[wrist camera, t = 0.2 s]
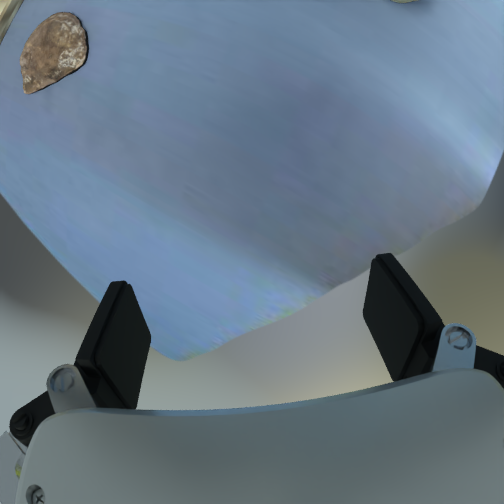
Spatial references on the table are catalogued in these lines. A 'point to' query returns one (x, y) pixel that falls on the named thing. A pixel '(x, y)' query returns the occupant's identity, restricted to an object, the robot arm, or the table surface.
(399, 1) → the coffee cup
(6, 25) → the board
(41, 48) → the shell
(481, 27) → the table surface
